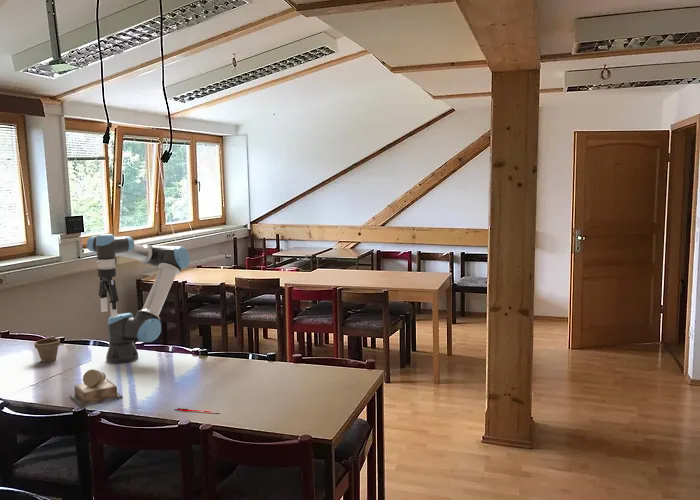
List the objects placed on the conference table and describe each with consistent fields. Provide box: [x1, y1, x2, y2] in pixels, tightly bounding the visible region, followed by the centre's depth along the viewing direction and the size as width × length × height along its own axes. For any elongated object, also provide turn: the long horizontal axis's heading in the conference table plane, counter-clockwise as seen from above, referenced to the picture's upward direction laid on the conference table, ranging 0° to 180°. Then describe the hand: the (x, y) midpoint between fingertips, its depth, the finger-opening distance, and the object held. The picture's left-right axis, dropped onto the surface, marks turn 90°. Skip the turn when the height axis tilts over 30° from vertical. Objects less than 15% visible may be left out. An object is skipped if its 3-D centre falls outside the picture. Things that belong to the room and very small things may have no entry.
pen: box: [174, 407, 211, 412], centre depth 229 cm, size 1×19×1 cm, turn 78°
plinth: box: [69, 378, 123, 408], centre depth 245 cm, size 16×16×5 cm
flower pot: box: [34, 337, 61, 363], centre depth 298 cm, size 12×11×10 cm
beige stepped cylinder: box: [82, 368, 107, 387], centre depth 246 cm, size 8×10×10 cm
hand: (109, 314), depth 272 cm, fingers open, 13 cm apart
